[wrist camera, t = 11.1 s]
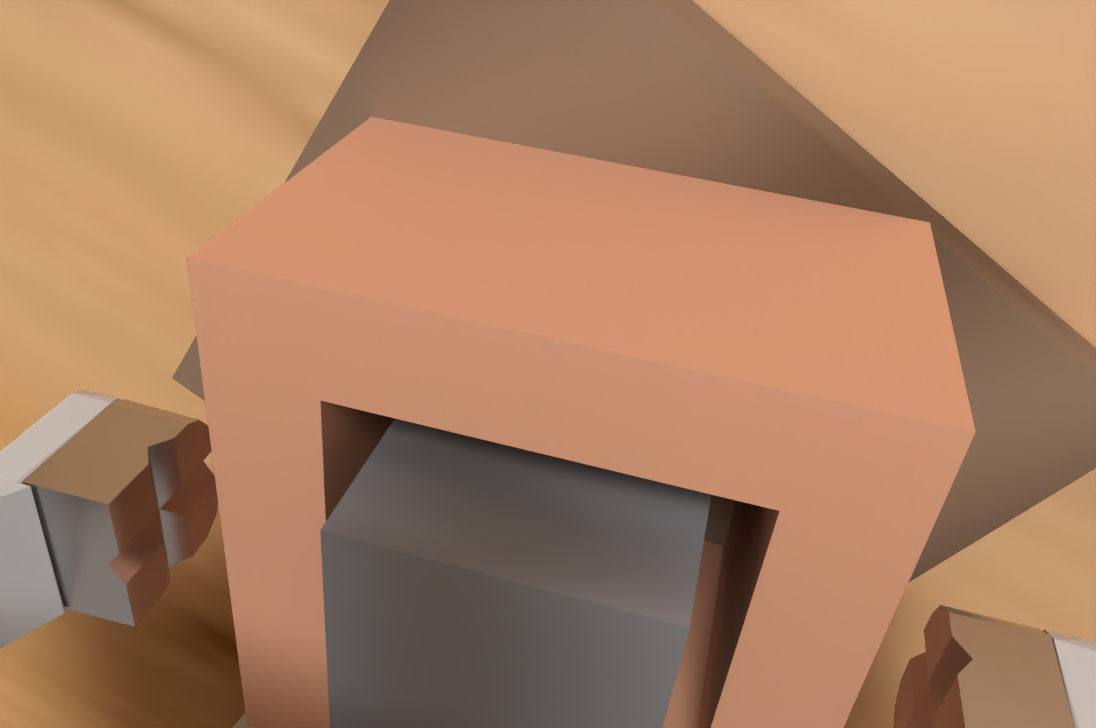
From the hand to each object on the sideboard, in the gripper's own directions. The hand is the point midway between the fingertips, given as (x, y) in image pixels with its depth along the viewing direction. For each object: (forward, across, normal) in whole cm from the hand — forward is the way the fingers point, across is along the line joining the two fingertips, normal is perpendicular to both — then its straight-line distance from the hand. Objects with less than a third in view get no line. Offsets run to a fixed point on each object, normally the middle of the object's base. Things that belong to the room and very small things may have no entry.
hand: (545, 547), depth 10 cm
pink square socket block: (+3, 0, 0) cm, 3 cm away
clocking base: (+4, 0, 0) cm, 4 cm away
